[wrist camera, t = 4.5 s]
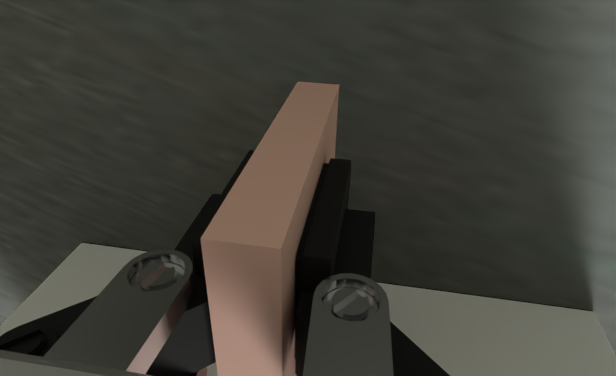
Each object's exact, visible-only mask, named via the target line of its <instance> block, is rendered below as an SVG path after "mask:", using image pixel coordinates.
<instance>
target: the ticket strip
mask: <svg viewBox="0 0 616 376" xmlns="http://www.w3.org/2000/svg"><path fill="white" fill-rule="evenodd" d="M338 98H339V85H337V84H324V83H311V82H297V83H296V85H295V87H294V88H293V90H292V92H291V93H290V95H289V96H288V98H287V100H286V101H285V103H284V104H283V106H282V108H281V109H280V111H279V113H278V114H277V116H276V117H275V119H274V121H273V122H272V124H271V125H270V127H269V129H268V130H267V132H266V134H265V135H264V137H263V138H262V140H261V142H260V143H259V145H258V146H257V148H256V150H255V151H254V153H253V155H252V156H251V158H250V159H249V161H248V163H247V164H246V166H245V167H244V169H243V171H242V172H241V174H240V175H239V177H238V179H237V180H236V182H235V184H234V185H233V187H232V188H231V190H230V192H229V193H228V195H227V196H226V198H225V200H224V201H223V203H222V205H221V206H220V208H219V209H218V211H217V213H216V214H215V216H214V217H213V219H212V221H211V222H210V224H209V226H208V227H207V229H206V230H205V232H204V234H203V235H202V237H201V238H200V240H201V247H202V255H203V263H204V271H205V279H206V287H207V295H208V303H209V311H210V318H211V326H212V334H213V342H214V350H215V358H216V366H217V374H218V376H297V375H296V374H295V358H294V345H295V265H296V256H297V250H298V246H299V242H300V239H301V236H302V232H303V229H304V226H305V223H306V219H307V216H308V213H309V209H310V206H311V203H312V200H313V196H314V193H315V190H316V187H317V183H318V180H319V177H320V173H321V170H322V167H323V164H324V163H328V164H329V161H330V158H333V159H335V147H336V131H337V115H338Z"/></svg>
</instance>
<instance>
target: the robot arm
mask: <svg viewBox="0 0 616 376" xmlns="http://www.w3.org/2000/svg"><path fill="white" fill-rule="evenodd" d="M253 153H254V151H252V150H250V151H249V152H248V153H247V155H246V157H245V158H244V160H243V161H242V163H241V164H240V166H239V167H238V169H237V171H236V172H235V174H234V175H233V177H232V178H231V180H230V181H229V183H228V185H227V186H226V188H225V189H224V191H223V192H222V194H221V195H219V194H213V195H212V196H211V197H210V198H209V199H208V201H207V202H206V204H205V205H204V207H203V208H202V210H201V211H200V213H199V214H198V216H197V217H196V219H195V220H194V222H193V223H192V225H191V226H190V227H189V229H188V230H187V232H186V233H185V235H184V236H183V238H182V239H181V241H180V242H179V244H178V245H177V247H176V248H175V250H172V249H159V250H152V251H149V252H146V253H143V254H140V255H139V256H137V257H135V258H133V259H132V260H130V261H129V262H128V263H127V264H126V265H125V266H124V267H123V268H122V269H121V270H120V271H119V272H118V274H117V275H116V276H115V277H114V278H113V279H112V280H111V281H110V283H109V284H108V285H107V286H106V287H105V288H104V289H103V290H102V291H101V293H100V294H99V295H98V296H96V297H93V298H90V299H88V300H85V301H83V302H80V303H77V304H75V305H72V306H70V307H67V308H64V309H62V310H59V311H56V312H54V313H51V314H49V315H46V316H43V317H41V318H38V319H36V320H33V321H30V322H28V323H25V324H23V325H20V326H18V327H16V328H14V329H11V330H9V331H7V332H5V333H4V334H3V335H1V336H0V376H206V375H207V366H209V365H211V364H213V363H215V362H216V358H215V350H214V342H213V334H212V326H211V318H210V311H209V303H208V295H207V287H206V279H205V271H204V263H203V255H202V247H201V240H200V238H201V237H202V235H203V234H204V232H205V230H206V229H207V227H208V226H209V224H210V222H211V221H212V219H213V217H214V216H215V214H216V213H217V211H218V209H219V208H220V206H221V205H222V203H223V201H224V200H225V198H226V196H227V195H228V193H229V192H230V190H231V188H232V187H233V185H234V184H235V182H236V180H237V179H238V177H239V175H240V174H241V172H242V171H243V169H244V167H245V166H246V164H247V163H248V161H249V159H250V158H251V156H252V155H253ZM350 175H351V160H343V159H333V158H330V161H329V164H328V163H324V164H323V167H322V170H321V173H320V177H319V180H318V183H317V187H316V190H315V193H314V196H313V200H312V203H311V206H310V209H309V213H308V216H307V219H306V223H305V226H304V229H303V232H302V236H301V239H300V242H299V246H298V250H297V256H296V265H295V345H294V358H295V374H296V375H297V376H450V375H449V374H448V373H447V372H446V371H445V370H443V369H442V368H441V367H440V366H439V365H438V364H437V363H436V362H435V361H434V360H432V359H431V358H430V357H429V356H428V355H427V354H426V353H425V352H424V351H423V350H421V349H420V348H419V347H418V346H417V345H416V344H415V343H414V342H413V341H412V340H410V339H409V338H408V337H407V336H406V335H405V334H404V333H403V332H402V331H401V330H399V329H398V328H397V327H396V326H395V325H394V324H393V323H392V322H391V321H390V313H389V301H388V298H387V294H386V292H385V291H384V290H383V288H382V287H381V286H380V285H379V284H378V283H376V282H375V281H374V280H372V279H370V278H371V265H372V252H373V239H374V226H375V212H368V211H359V210H351V209H348V199H349V187H350Z"/></svg>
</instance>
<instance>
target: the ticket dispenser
mask: <svg viewBox="0 0 616 376" xmlns="http://www.w3.org/2000/svg"><path fill="white" fill-rule="evenodd" d="M146 252H147V251H139V250H132V249H124V248H117V247H109V246H102V245H95V244H87V243H81V244H80V245H79V246H78V247H77V248H76V249H75V250H74V251H73V252H72V253H71V254H70V255H69V256H68V257H67V258H66V259H65V260H64V261H63V262H62V263H61V264H60V265H59V266H58V267H57V268H56V269H55V270H54V271H53V272H52V273H51V274H50V275H49V276H48V278H47V279H46V280H45V281H44V282H43V283H42V284H41V285H40V286H39V287H38V288H37V289H36V290H35V291H34V292H33V293H32V294H31V295H30V296H29V297H28V298H27V299H26V300H25V301H24V302H23V303H22V304H21V305H20V306H19V307H18V308H17V309H16V310H15V311H14V312H13V313H12V314H11V315H10V316H9V317H8V318H7V319H6V320H5V321H4V322H3V323H2V324H1V326H0V336H1V335H3V334H4V333H5V332H7V331H9V330H11V329H14V328H16V327H18V326H20V325H23V324H25V323H28V322H30V321H33V320H36V319H38V318H41V317H43V316H46V315H49V314H51V313H54V312H56V311H59V310H62V309H64V308H67V307H70V306H72V305H75V304H77V303H80V302H83V301H85V300H88V299H90V298H93V297H96V296H98V295H99V294H100V293H101V291H102V290H103V289H104V288H105V287H106V286H107V285H108V284H109V283H110V281H111V280H112V279H113V278H114V277H115V276H116V275H117V274H118V272H119V271H120V270H121V269H122V268H123V267H124V266H125V265H126V264H127V263H128V262H129V261H130V260H132V259H133V258H135V257H137V256H139V255H140V254H143V253H146ZM376 283H377V282H376ZM378 284H379V285H380V286H381V287H382V288H383V290H384V291H385V292H386V294H387V298H388V301H389V313H390V321H391V322H392V323H393V324H394V325H395V326H396V327H397V328H398V329H399V330H401V331H402V332H403V333H404V334H405V335H406V336H407V337H408V338H409V339H410V340H412V341H413V342H414V343H415V344H416V345H417V346H418V347H419V348H420V349H421V350H423V351H424V352H425V353H426V354H427V355H428V356H429V357H430V358H431V359H432V360H434V361H435V362H436V363H437V364H438V365H439V366H440V367H441V368H442V369H443V370H445V371H446V372H447V373H448V374H449V375H450V376H616V355H615V353H614V351H613V349H612V347H611V345H610V343H609V341H608V339H607V337H606V335H605V333H604V331H603V329H602V327H601V325H600V323H599V321H598V319H597V317H596V315H595V313H594V312H593V311H585V310H578V309H570V308H563V307H555V306H548V305H541V304H533V303H526V302H518V301H511V300H503V299H496V298H488V297H481V296H474V295H466V294H459V293H451V292H444V291H436V290H429V289H422V288H414V287H407V286H399V285H392V284H384V283H378ZM206 376H218V374H217V366H216V362H215V363H213V364H211V365H209V366H207V375H206Z"/></svg>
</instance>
